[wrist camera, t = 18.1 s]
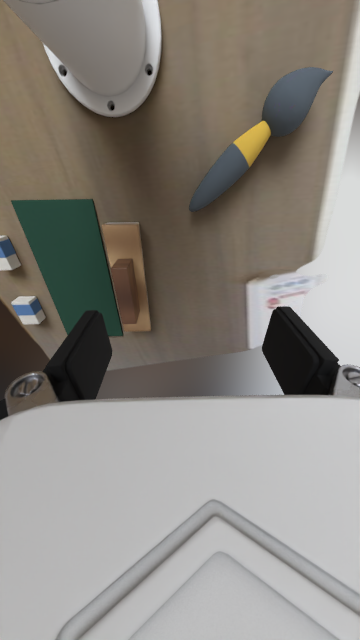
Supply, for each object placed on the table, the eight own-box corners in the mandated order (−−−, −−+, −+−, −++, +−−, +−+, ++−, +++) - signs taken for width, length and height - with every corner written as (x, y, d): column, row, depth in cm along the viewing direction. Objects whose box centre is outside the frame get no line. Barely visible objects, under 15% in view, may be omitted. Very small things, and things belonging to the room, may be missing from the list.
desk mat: (12, 200, 30) (10, 200, 30) (92, 199, 30) (92, 199, 30) (69, 335, 45) (68, 337, 44) (123, 334, 45) (122, 335, 44)
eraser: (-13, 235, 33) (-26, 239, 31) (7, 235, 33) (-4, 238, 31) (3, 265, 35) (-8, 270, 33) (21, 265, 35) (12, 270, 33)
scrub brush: (106, 222, 32) (90, 231, 26) (140, 221, 32) (132, 230, 26) (126, 324, 43) (119, 346, 37) (151, 323, 43) (148, 345, 37)
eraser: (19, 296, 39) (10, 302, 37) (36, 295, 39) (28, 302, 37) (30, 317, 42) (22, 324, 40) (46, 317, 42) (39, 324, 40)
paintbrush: (206, 226, 32) (210, 233, 28) (183, 203, 30) (184, 206, 26) (322, 91, 24) (352, 71, 20) (300, 48, 22) (328, 16, 18)
